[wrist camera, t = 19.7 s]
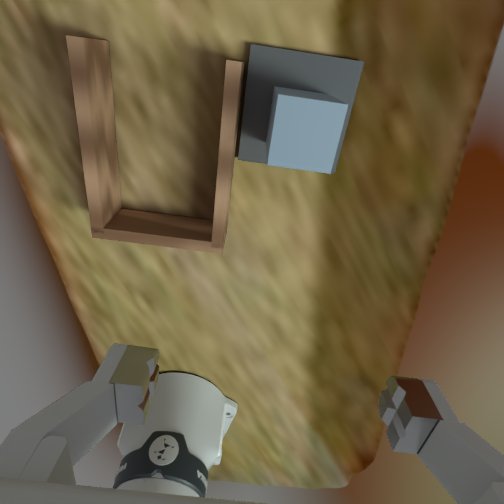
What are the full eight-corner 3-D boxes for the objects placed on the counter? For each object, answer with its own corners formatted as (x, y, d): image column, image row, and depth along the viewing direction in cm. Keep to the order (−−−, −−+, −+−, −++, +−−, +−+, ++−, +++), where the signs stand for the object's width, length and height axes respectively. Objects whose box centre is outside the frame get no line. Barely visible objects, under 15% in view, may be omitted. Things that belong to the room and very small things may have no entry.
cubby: (226, 231, 38) (222, 253, 34) (111, 216, 37) (92, 237, 33) (244, 61, 29) (241, 62, 25) (94, 38, 29) (65, 35, 24)
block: (315, 149, 32) (330, 173, 26) (265, 142, 32) (267, 164, 25) (328, 94, 30) (348, 104, 23) (274, 86, 30) (278, 94, 23)
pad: (333, 171, 34) (334, 173, 34) (238, 158, 34) (237, 159, 33) (362, 61, 29) (364, 61, 29) (250, 44, 29) (250, 43, 28)
